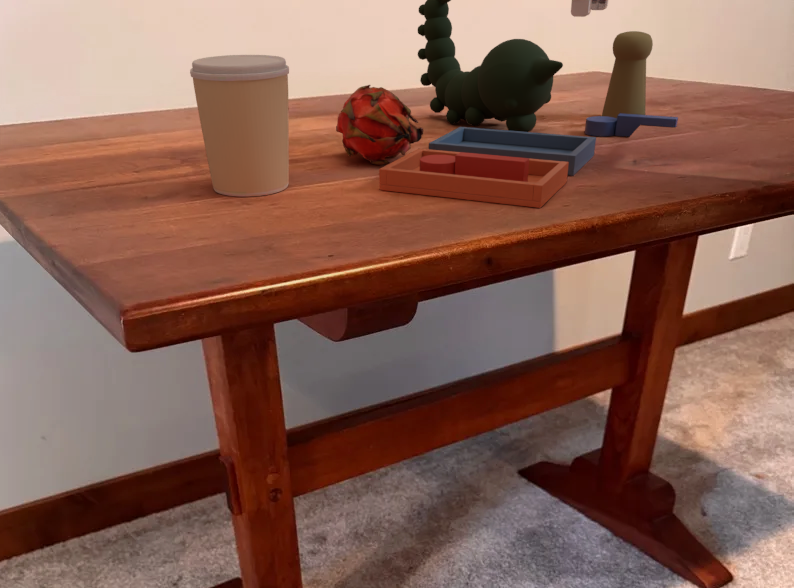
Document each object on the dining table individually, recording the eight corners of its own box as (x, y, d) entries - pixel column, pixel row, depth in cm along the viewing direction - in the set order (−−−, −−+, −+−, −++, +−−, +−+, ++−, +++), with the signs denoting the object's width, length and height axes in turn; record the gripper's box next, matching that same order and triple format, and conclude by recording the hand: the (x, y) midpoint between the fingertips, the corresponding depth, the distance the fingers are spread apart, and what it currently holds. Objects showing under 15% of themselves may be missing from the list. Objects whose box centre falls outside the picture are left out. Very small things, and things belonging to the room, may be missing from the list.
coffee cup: (308, 177, 85) (301, 54, 79) (278, 201, 77) (267, 67, 71) (226, 173, 87) (213, 53, 81) (189, 196, 79) (171, 65, 73)
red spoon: (530, 181, 80) (533, 155, 79) (519, 190, 77) (521, 164, 76) (428, 170, 85) (428, 146, 83) (413, 179, 81) (413, 154, 80)
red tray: (566, 182, 82) (568, 161, 81) (540, 208, 74) (542, 185, 73) (418, 167, 88) (418, 148, 87) (379, 190, 80) (379, 168, 79)
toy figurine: (406, 130, 114) (533, 142, 96) (398, -19, 106) (535, -37, 88) (456, 122, 119) (585, 132, 101) (452, -22, 111) (593, -39, 92)
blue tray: (594, 155, 92) (596, 137, 91) (573, 175, 84) (575, 155, 83) (459, 144, 98) (459, 126, 97) (428, 162, 90) (428, 142, 89)
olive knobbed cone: (623, 123, 109) (635, 34, 103) (592, 116, 113) (601, 31, 108) (654, 118, 111) (667, 32, 106) (622, 112, 116) (633, 28, 110)
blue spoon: (676, 136, 101) (679, 115, 100) (671, 142, 98) (675, 121, 97) (588, 129, 106) (590, 109, 104) (581, 135, 102) (583, 114, 101)
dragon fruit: (356, 160, 98) (407, 197, 90) (305, 125, 92) (355, 161, 84) (395, 99, 96) (450, 131, 88) (346, 59, 90) (401, 89, 82)
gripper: (618, -153, 70) (600, 20, 77) (651, -136, 86) (634, 7, 93) (548, -149, 72) (536, 20, 79) (592, -133, 89) (580, 6, 96)
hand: (589, 13), depth 86 cm, fingers open, 8 cm apart
